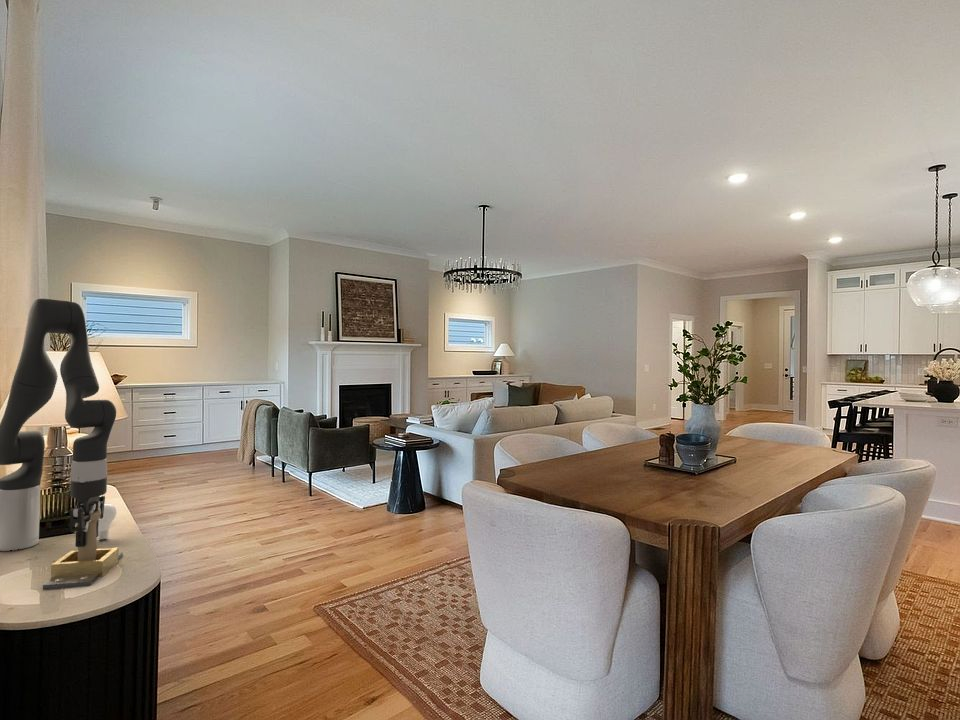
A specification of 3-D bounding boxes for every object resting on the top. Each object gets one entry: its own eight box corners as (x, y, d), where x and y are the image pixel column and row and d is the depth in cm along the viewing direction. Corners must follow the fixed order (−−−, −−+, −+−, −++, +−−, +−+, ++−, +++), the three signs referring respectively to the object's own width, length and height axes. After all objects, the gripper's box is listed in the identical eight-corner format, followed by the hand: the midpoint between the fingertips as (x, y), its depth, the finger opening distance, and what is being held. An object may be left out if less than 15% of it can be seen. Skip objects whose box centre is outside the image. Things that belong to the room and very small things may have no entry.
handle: (73, 577, 128) (76, 517, 128) (74, 568, 133) (77, 511, 134) (97, 573, 131) (100, 514, 131) (97, 565, 136) (100, 508, 137)
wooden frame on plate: (39, 589, 121) (40, 572, 121) (79, 558, 140) (80, 544, 140) (93, 585, 124) (93, 568, 124) (125, 555, 143) (125, 541, 143)
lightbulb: (119, 539, 156) (120, 502, 157) (95, 544, 151) (96, 507, 151) (110, 534, 160) (111, 499, 160) (86, 540, 154) (87, 504, 155)
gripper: (85, 471, 138) (83, 534, 138) (57, 483, 124) (55, 553, 124) (117, 471, 140) (115, 532, 140) (93, 482, 127) (91, 550, 126)
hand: (87, 541), depth 132 cm, fingers open, 6 cm apart
